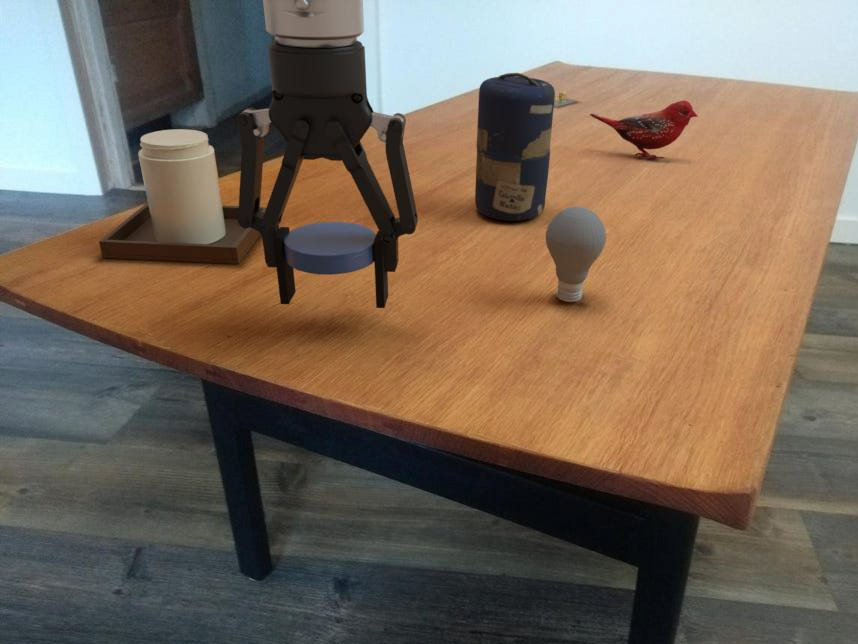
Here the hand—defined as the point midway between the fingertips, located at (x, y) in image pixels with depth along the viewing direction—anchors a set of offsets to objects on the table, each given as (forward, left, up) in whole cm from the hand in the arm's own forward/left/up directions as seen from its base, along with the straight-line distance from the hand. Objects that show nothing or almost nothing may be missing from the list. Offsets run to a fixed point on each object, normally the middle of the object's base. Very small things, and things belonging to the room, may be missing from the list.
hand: (335, 299), depth 70 cm
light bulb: (+23, +8, -3) cm, 24 cm away
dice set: (+27, +108, -3) cm, 111 cm away
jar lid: (0, 0, +6) cm, 6 cm away
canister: (+17, +34, -3) cm, 38 cm away
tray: (-21, +20, -3) cm, 29 cm away
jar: (-21, +20, -2) cm, 29 cm away
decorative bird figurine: (+39, +65, -3) cm, 76 cm away
